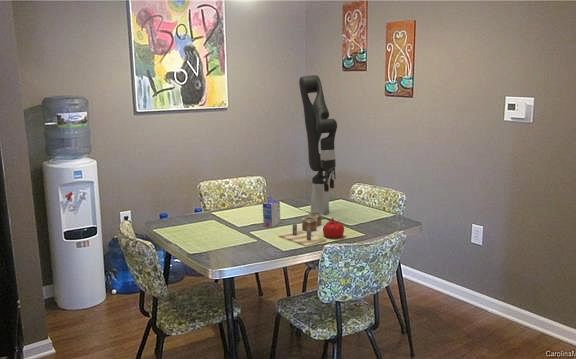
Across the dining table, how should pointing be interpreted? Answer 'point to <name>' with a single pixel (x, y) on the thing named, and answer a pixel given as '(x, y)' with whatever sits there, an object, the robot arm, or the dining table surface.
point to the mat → (319, 229)
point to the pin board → (302, 237)
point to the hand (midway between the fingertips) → (329, 189)
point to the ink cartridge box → (271, 212)
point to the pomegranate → (333, 229)
